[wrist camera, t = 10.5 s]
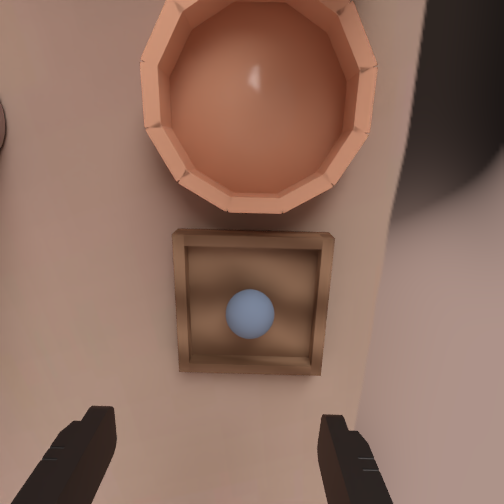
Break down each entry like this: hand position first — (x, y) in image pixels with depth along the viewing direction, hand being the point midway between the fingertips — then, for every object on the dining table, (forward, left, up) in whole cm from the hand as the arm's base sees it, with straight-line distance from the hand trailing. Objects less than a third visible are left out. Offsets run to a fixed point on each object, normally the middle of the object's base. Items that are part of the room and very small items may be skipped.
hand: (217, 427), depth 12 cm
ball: (-2, -3, -16) cm, 16 cm away
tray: (-2, -3, -19) cm, 19 cm away
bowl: (+12, +7, -19) cm, 24 cm away
